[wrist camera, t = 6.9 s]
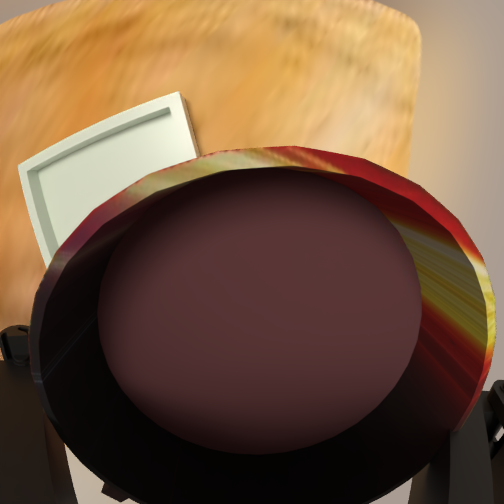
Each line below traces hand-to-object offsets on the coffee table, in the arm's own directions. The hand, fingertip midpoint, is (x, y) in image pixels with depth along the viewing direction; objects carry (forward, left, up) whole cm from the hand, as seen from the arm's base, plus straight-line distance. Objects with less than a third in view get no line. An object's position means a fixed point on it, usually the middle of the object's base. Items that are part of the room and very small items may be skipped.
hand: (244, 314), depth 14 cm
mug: (0, 0, -3) cm, 3 cm away
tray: (-5, -12, -19) cm, 23 cm away
